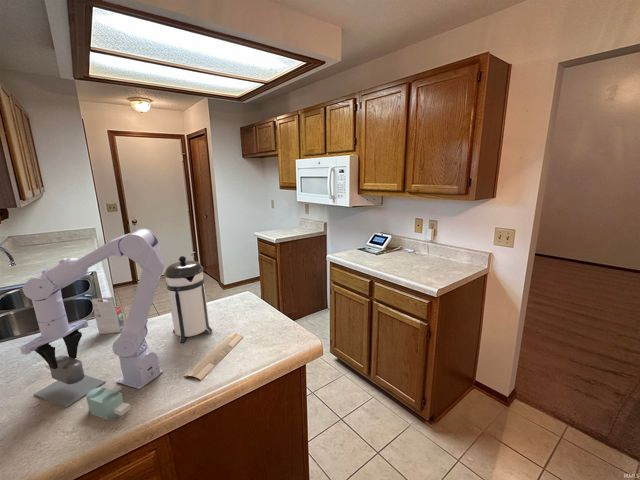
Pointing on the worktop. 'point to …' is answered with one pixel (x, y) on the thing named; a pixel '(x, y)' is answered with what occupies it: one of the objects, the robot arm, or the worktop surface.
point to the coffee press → (187, 298)
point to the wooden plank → (214, 356)
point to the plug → (67, 370)
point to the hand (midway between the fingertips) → (63, 362)
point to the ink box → (108, 316)
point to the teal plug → (106, 403)
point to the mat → (68, 391)
